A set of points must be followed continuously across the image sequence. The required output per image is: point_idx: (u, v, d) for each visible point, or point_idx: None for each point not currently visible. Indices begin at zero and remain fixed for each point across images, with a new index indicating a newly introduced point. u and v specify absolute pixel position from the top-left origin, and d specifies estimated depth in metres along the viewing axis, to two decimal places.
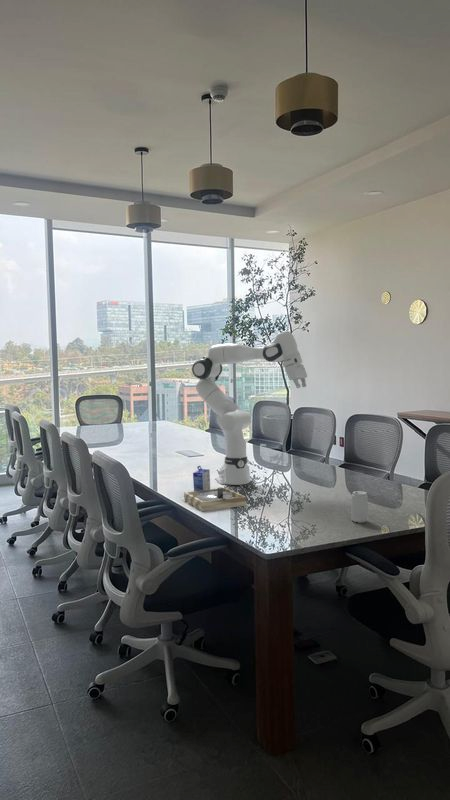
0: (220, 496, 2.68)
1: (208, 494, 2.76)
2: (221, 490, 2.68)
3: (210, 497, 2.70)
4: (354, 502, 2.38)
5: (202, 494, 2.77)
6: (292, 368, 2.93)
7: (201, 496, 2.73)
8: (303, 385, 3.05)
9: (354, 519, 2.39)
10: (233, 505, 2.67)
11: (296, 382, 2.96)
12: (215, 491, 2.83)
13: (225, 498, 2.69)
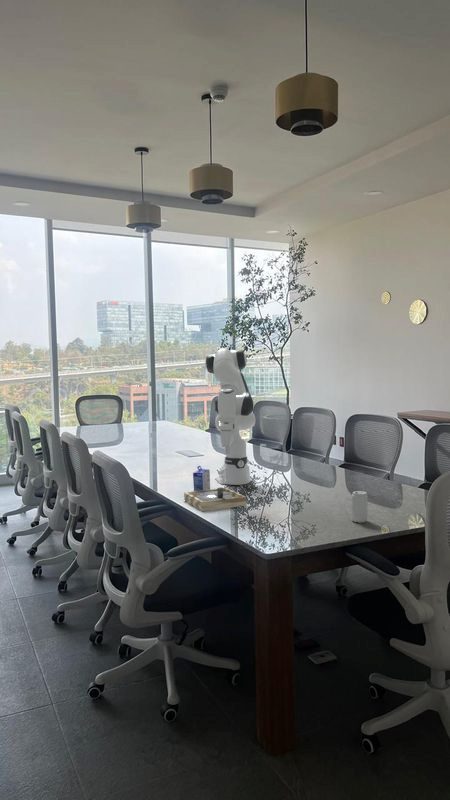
0: (220, 496, 2.68)
1: (208, 494, 2.76)
2: (221, 490, 2.68)
3: (210, 497, 2.70)
4: (354, 502, 2.38)
5: (202, 494, 2.77)
6: (229, 435, 2.63)
7: (201, 496, 2.73)
8: None
9: (354, 519, 2.39)
10: (233, 505, 2.67)
11: (227, 448, 2.71)
12: (215, 491, 2.83)
13: (225, 498, 2.69)
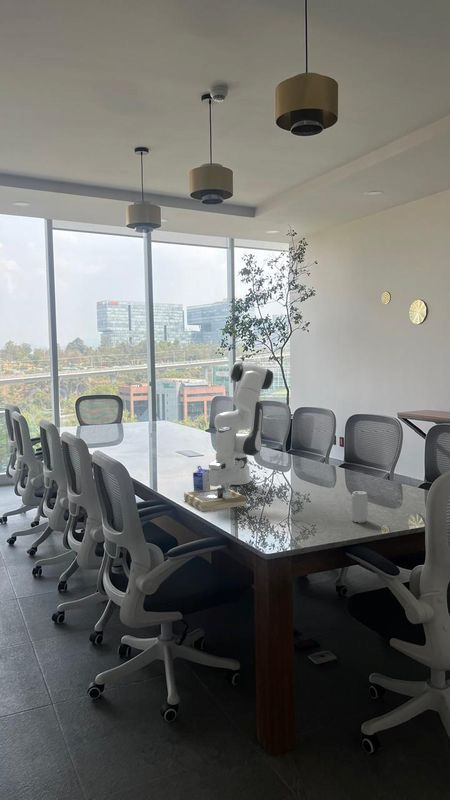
0: (220, 496, 2.68)
1: (208, 494, 2.76)
2: (221, 490, 2.68)
3: (210, 497, 2.70)
4: (354, 502, 2.38)
5: (202, 494, 2.77)
6: (215, 475, 2.62)
7: (201, 496, 2.73)
8: None
9: (354, 519, 2.39)
10: (233, 505, 2.67)
11: (223, 487, 2.69)
12: (215, 491, 2.83)
13: (225, 498, 2.68)
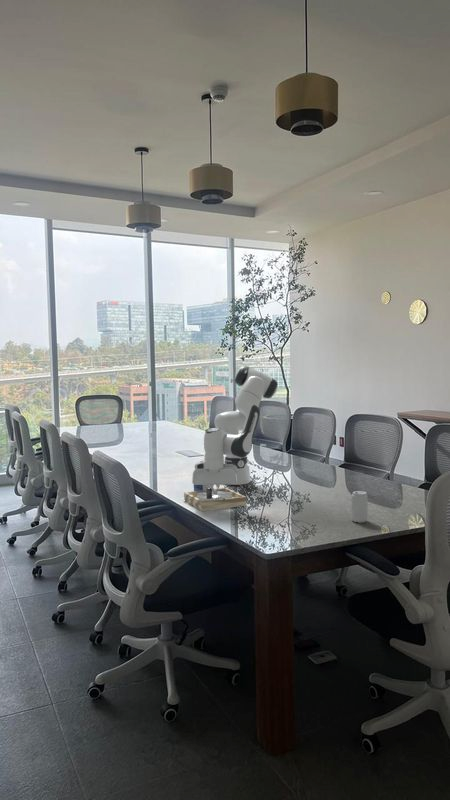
0: (207, 496, 2.68)
1: (212, 493, 2.78)
2: (208, 490, 2.68)
3: (204, 496, 2.73)
4: (354, 502, 2.38)
5: None
6: (193, 473, 2.67)
7: (201, 494, 2.78)
8: None
9: (354, 519, 2.39)
10: (233, 505, 2.67)
11: None
12: (226, 492, 2.80)
13: (211, 499, 2.67)
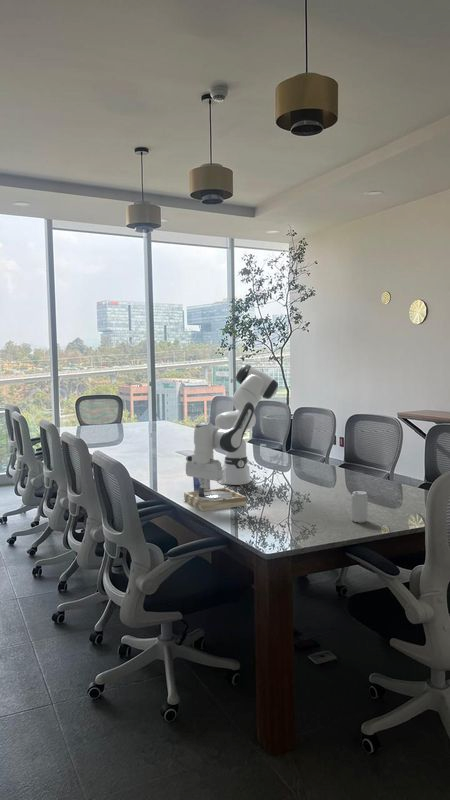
0: (198, 494, 2.73)
1: (218, 493, 2.78)
2: (198, 488, 2.72)
3: (204, 494, 2.77)
4: (354, 502, 2.38)
5: (218, 492, 2.81)
6: None
7: (210, 492, 2.81)
8: None
9: (354, 519, 2.39)
10: (233, 505, 2.67)
11: None
12: (230, 495, 2.74)
13: (199, 497, 2.71)
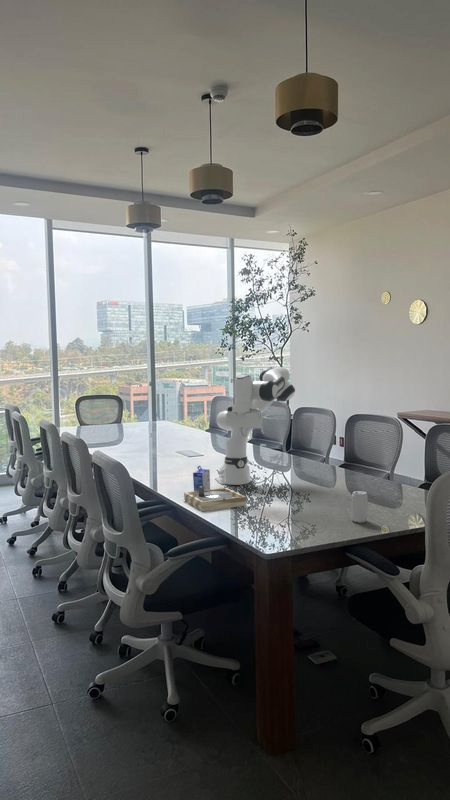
0: (198, 494, 2.73)
1: (218, 493, 2.78)
2: (198, 488, 2.72)
3: (204, 494, 2.77)
4: (354, 502, 2.38)
5: (218, 492, 2.81)
6: None
7: (210, 492, 2.81)
8: None
9: (354, 519, 2.39)
10: (233, 505, 2.67)
11: None
12: (230, 495, 2.74)
13: (199, 497, 2.71)
